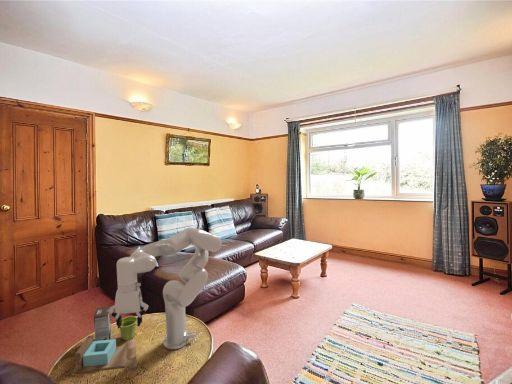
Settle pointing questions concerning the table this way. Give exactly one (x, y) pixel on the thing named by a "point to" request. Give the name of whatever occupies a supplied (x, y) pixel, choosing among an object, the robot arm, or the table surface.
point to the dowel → (131, 355)
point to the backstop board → (115, 362)
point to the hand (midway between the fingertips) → (129, 325)
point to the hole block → (99, 352)
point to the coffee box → (102, 324)
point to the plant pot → (128, 327)
